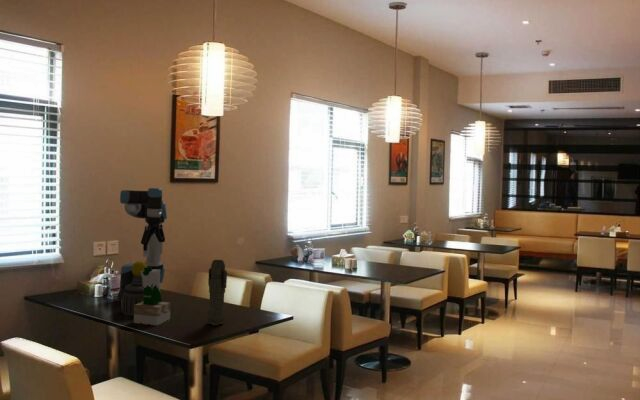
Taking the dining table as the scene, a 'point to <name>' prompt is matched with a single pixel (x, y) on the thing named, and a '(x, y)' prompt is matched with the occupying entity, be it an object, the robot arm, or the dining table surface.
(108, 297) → the dining table surface
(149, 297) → the soya milk
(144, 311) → the tower top
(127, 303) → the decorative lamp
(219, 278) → the dark figurine statue
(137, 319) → the tower base
